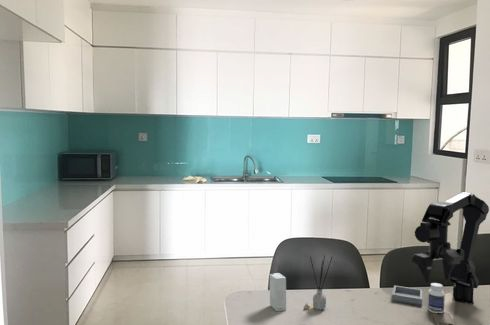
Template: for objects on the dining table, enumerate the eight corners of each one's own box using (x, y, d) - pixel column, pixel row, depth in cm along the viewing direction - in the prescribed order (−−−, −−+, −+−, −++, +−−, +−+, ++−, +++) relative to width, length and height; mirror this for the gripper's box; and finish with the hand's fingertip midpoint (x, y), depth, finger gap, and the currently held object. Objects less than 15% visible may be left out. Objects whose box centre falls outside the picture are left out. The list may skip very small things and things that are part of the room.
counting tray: (422, 295, 158) (422, 289, 158) (421, 305, 149) (422, 299, 148) (394, 291, 163) (394, 285, 162) (391, 300, 153) (392, 294, 153)
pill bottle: (446, 314, 141) (447, 288, 140) (429, 313, 142) (430, 286, 141) (441, 308, 146) (442, 282, 146) (426, 307, 147) (427, 281, 147)
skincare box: (286, 310, 143) (287, 277, 143) (275, 312, 142) (276, 279, 141) (279, 303, 149) (280, 272, 149) (268, 305, 148) (269, 273, 147)
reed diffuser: (328, 305, 148) (330, 252, 147) (334, 313, 141) (336, 258, 140) (302, 306, 147) (303, 253, 146) (307, 314, 140) (308, 259, 139)
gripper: (436, 246, 132) (434, 292, 133) (477, 241, 138) (475, 285, 139) (411, 238, 142) (410, 280, 143) (451, 234, 149) (449, 275, 150)
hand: (437, 280), depth 144 cm, fingers open, 9 cm apart
